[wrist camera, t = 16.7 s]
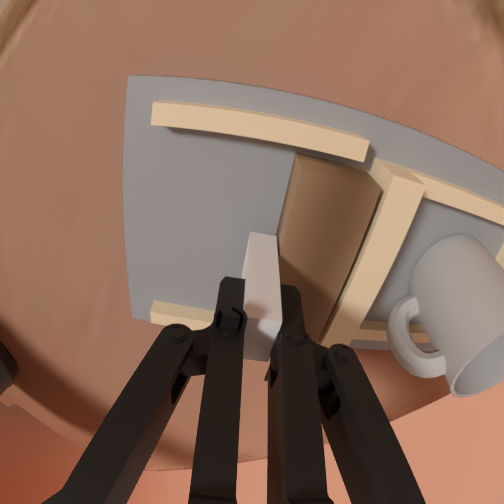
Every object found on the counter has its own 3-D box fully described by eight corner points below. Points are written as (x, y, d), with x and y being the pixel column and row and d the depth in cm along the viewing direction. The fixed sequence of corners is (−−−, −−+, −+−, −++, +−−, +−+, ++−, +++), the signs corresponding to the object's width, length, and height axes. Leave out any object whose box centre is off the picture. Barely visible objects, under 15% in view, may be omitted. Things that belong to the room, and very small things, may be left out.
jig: (136, 307, 24) (121, 345, 21) (136, 74, 14) (102, 79, 11) (443, 342, 26) (456, 373, 23) (531, 187, 17) (562, 211, 13)
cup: (478, 289, 21) (526, 367, 13) (377, 328, 23) (405, 423, 16) (484, 218, 17) (556, 298, 10) (364, 261, 20) (407, 372, 12)
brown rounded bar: (255, 313, 22) (254, 344, 20) (295, 151, 16) (302, 169, 13) (307, 320, 23) (311, 350, 20) (363, 168, 16) (381, 188, 14)
